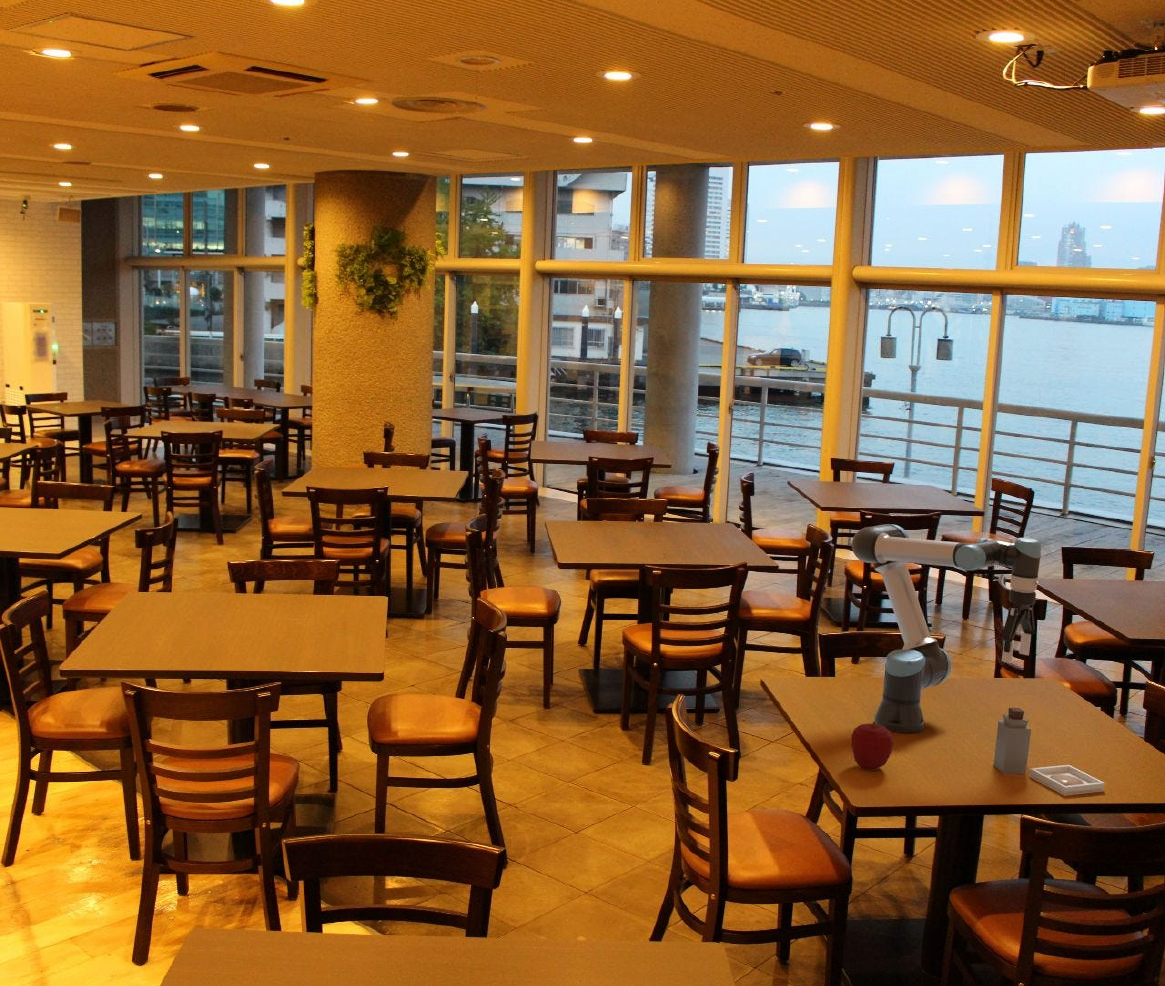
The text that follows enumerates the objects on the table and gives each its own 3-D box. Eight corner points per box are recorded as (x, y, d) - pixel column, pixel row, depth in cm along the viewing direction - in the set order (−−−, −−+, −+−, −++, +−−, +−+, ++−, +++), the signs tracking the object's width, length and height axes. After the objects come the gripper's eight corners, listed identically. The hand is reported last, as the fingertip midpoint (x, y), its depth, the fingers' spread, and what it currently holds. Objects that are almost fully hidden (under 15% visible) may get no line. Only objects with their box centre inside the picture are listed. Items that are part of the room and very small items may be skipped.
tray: (1064, 795, 340) (1065, 787, 340) (1029, 776, 353) (1030, 768, 353) (1104, 791, 345) (1105, 783, 345) (1068, 772, 358) (1069, 764, 358)
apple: (882, 779, 344) (887, 733, 342) (842, 769, 350) (846, 723, 348) (896, 767, 354) (900, 722, 352) (857, 757, 360) (861, 713, 358)
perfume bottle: (993, 764, 361) (1000, 705, 358) (1015, 765, 361) (1022, 706, 359) (1003, 773, 354) (1010, 713, 351) (1025, 774, 355) (1032, 714, 352)
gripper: (1019, 598, 360) (1011, 668, 364) (1050, 586, 379) (1042, 653, 382) (994, 593, 365) (986, 662, 368) (1026, 582, 384) (1019, 648, 387)
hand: (1015, 658), depth 375 cm, fingers open, 13 cm apart
